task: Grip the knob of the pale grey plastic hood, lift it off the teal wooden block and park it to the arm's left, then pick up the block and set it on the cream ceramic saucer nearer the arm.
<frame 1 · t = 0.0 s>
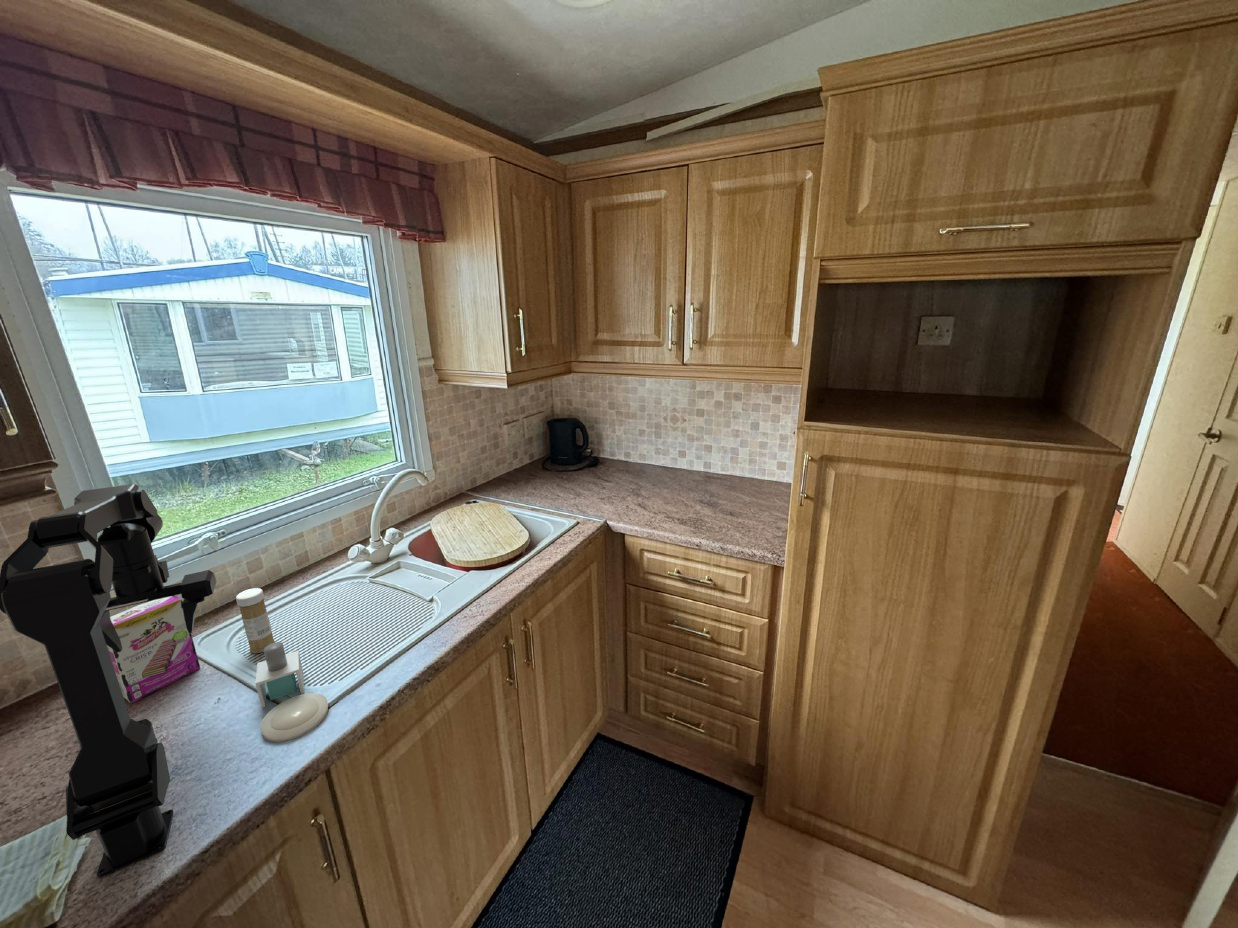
hand: (156, 641, 84), 15 cm above the countertop, fingers open, 9 cm apart
saucer: (296, 718, 86), on the countertop
block: (283, 689, 93), on the countertop
candy bar box: (163, 682, 95), on the countertop
sprinkles bottle: (262, 648, 105), on the countertop
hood: (283, 689, 93), on the countertop
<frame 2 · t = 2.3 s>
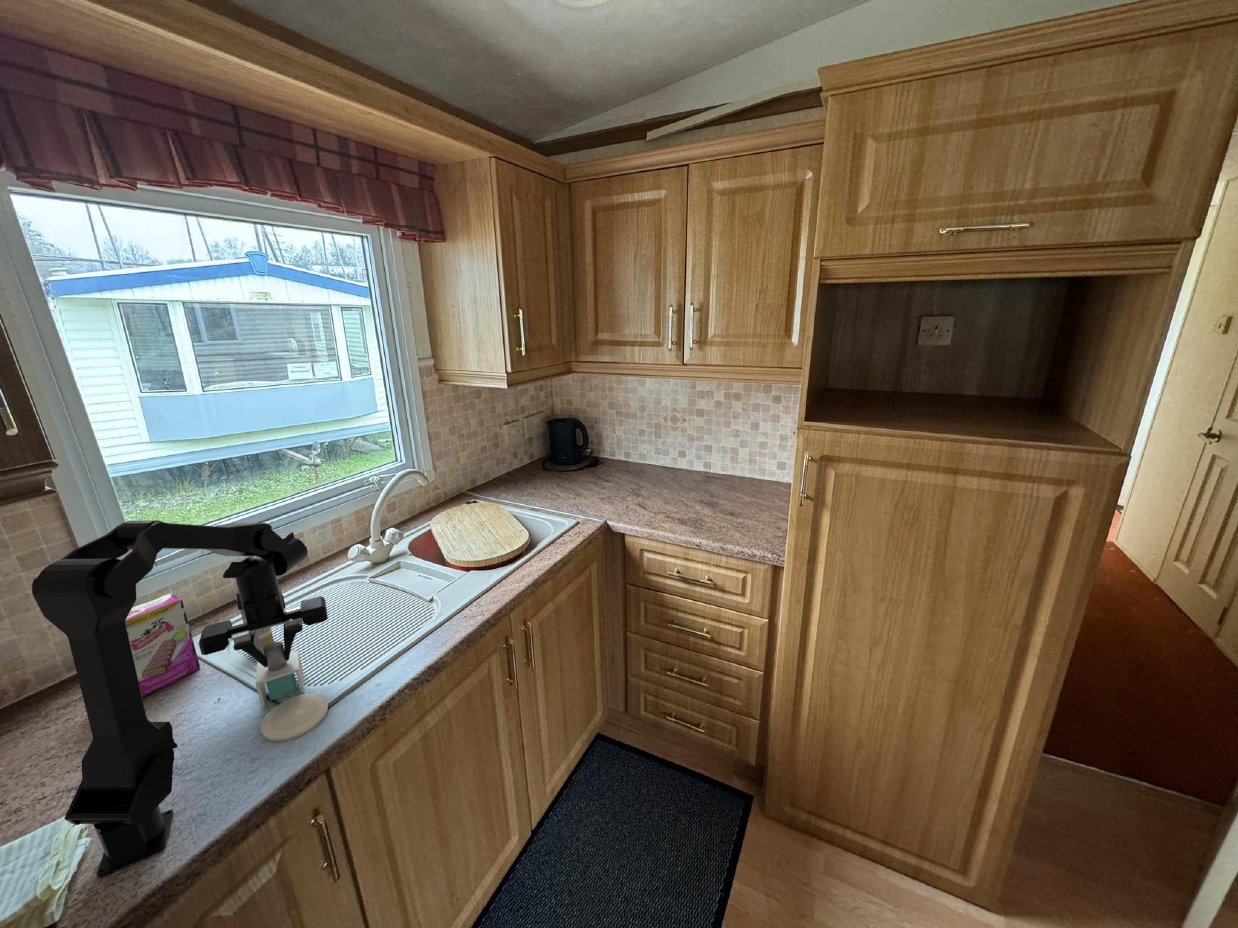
hand: (277, 662, 91), 6 cm above the countertop, fingers closed on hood, 3 cm apart
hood: (283, 689, 93), on the countertop, touching gripper
everything else where it was.
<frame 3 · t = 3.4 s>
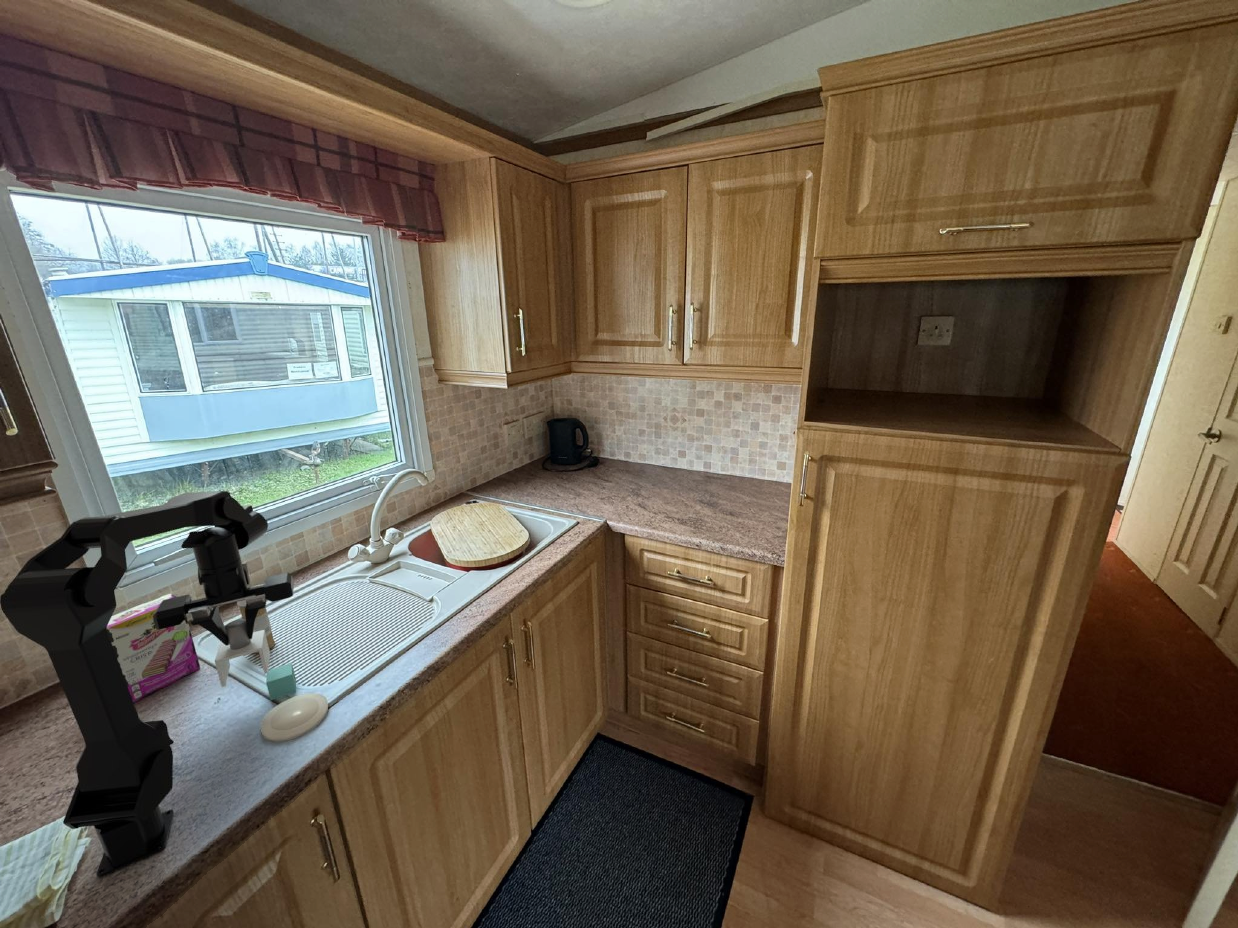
hand: (239, 640, 87), 13 cm above the countertop, fingers closed on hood, 3 cm apart
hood: (247, 669, 89), point 7 cm above the countertop, touching gripper
everything else where it was.
when the fingers open (7 cm above the countertop, at t = 4.8 s): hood drops 1 cm, on the countertop.
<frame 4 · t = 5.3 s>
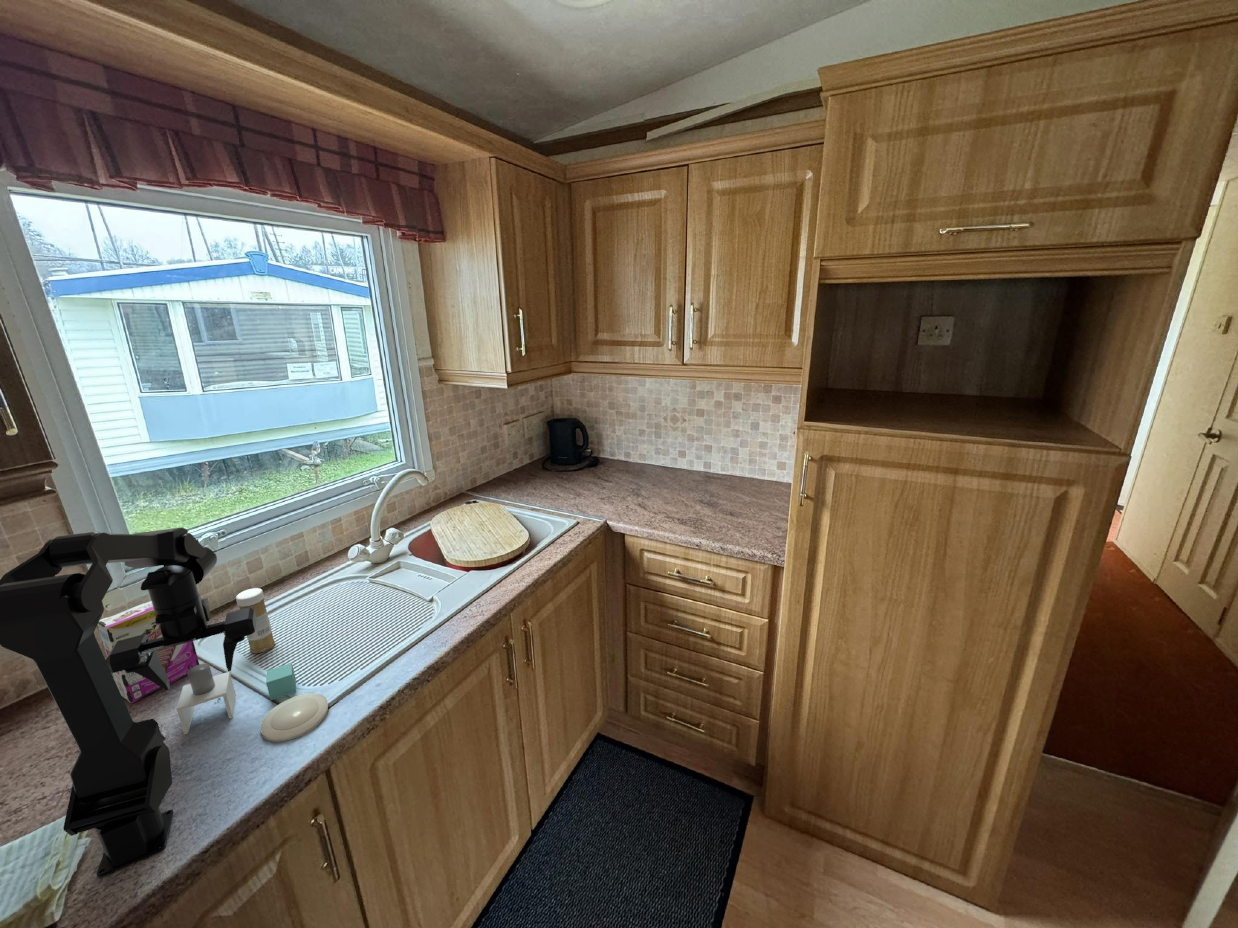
hand: (199, 679, 85), 7 cm above the countertop, fingers open, 8 cm apart
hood: (211, 713, 87), on the countertop
everything else where it was.
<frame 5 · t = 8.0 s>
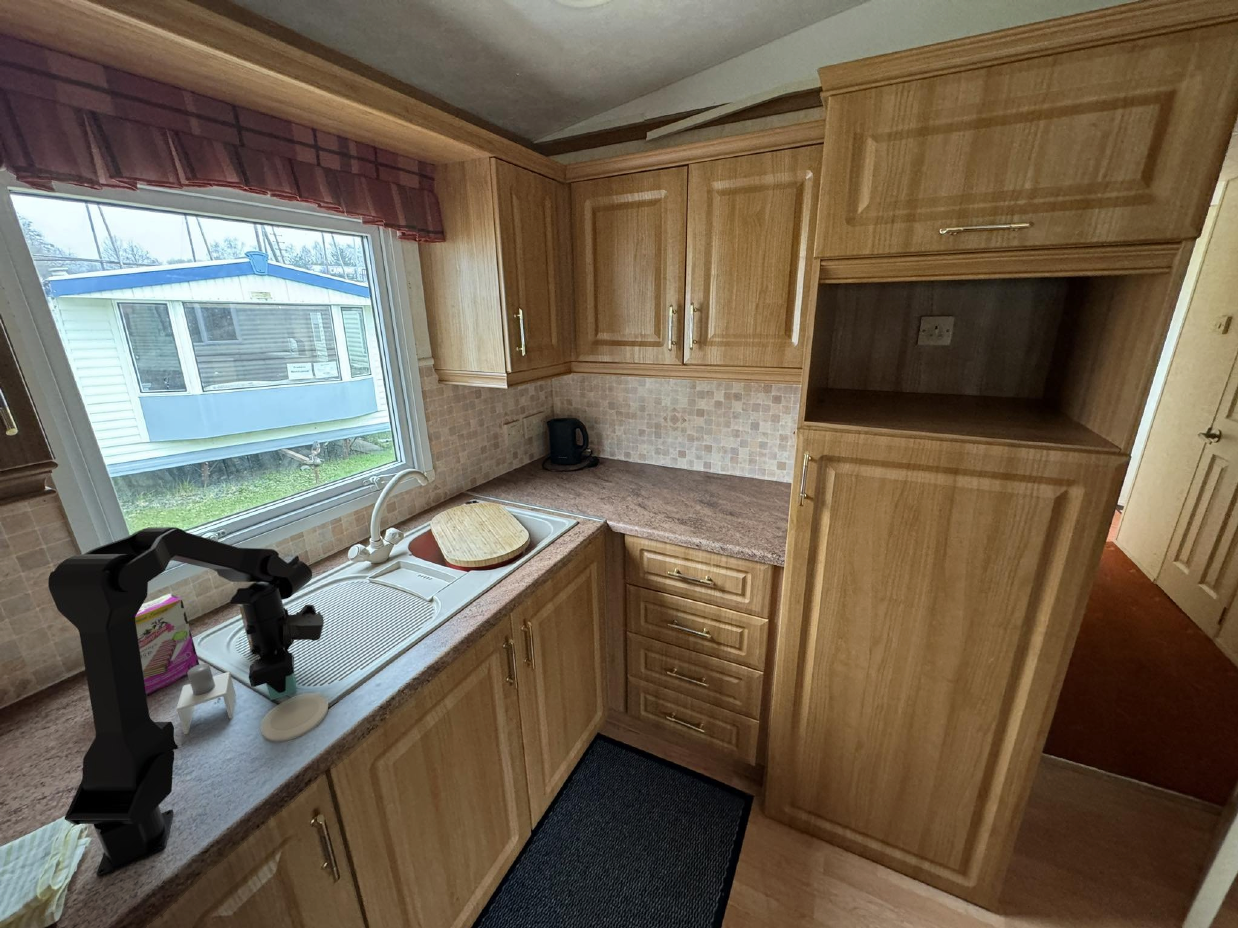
hand: (282, 684, 93), 1 cm above the countertop, fingers closed on block, 4 cm apart
block: (283, 689, 93), on the countertop, touching gripper
everything else where it was.
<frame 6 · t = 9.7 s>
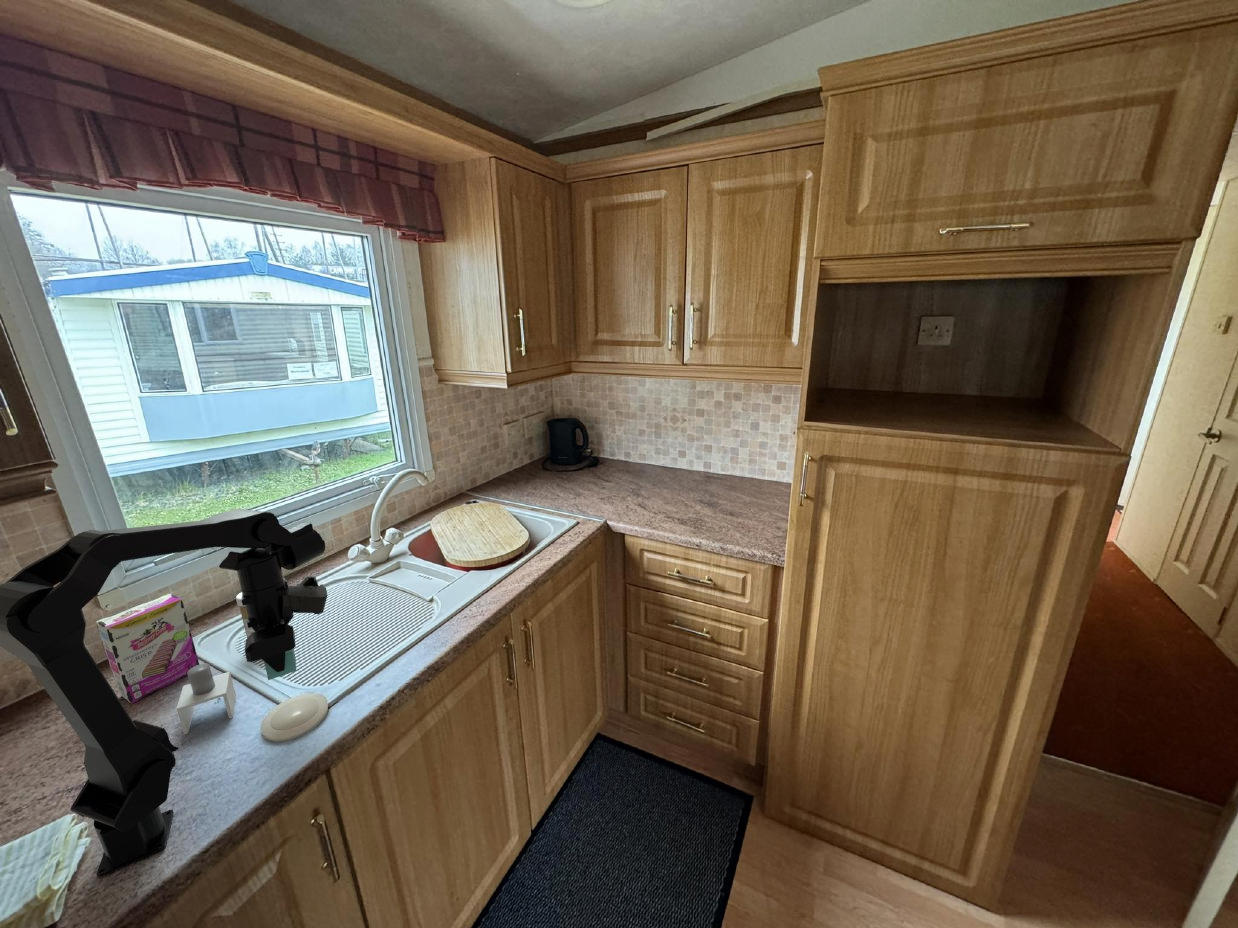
hand: (280, 664, 84), 11 cm above the countertop, fingers closed on block, 4 cm apart
block: (282, 668, 84), point 10 cm above the countertop, touching gripper
everything else where it was.
when the fingers open (4 cm above the countertop, at t = 11.3 s): block drops 1 cm, resting on saucer.
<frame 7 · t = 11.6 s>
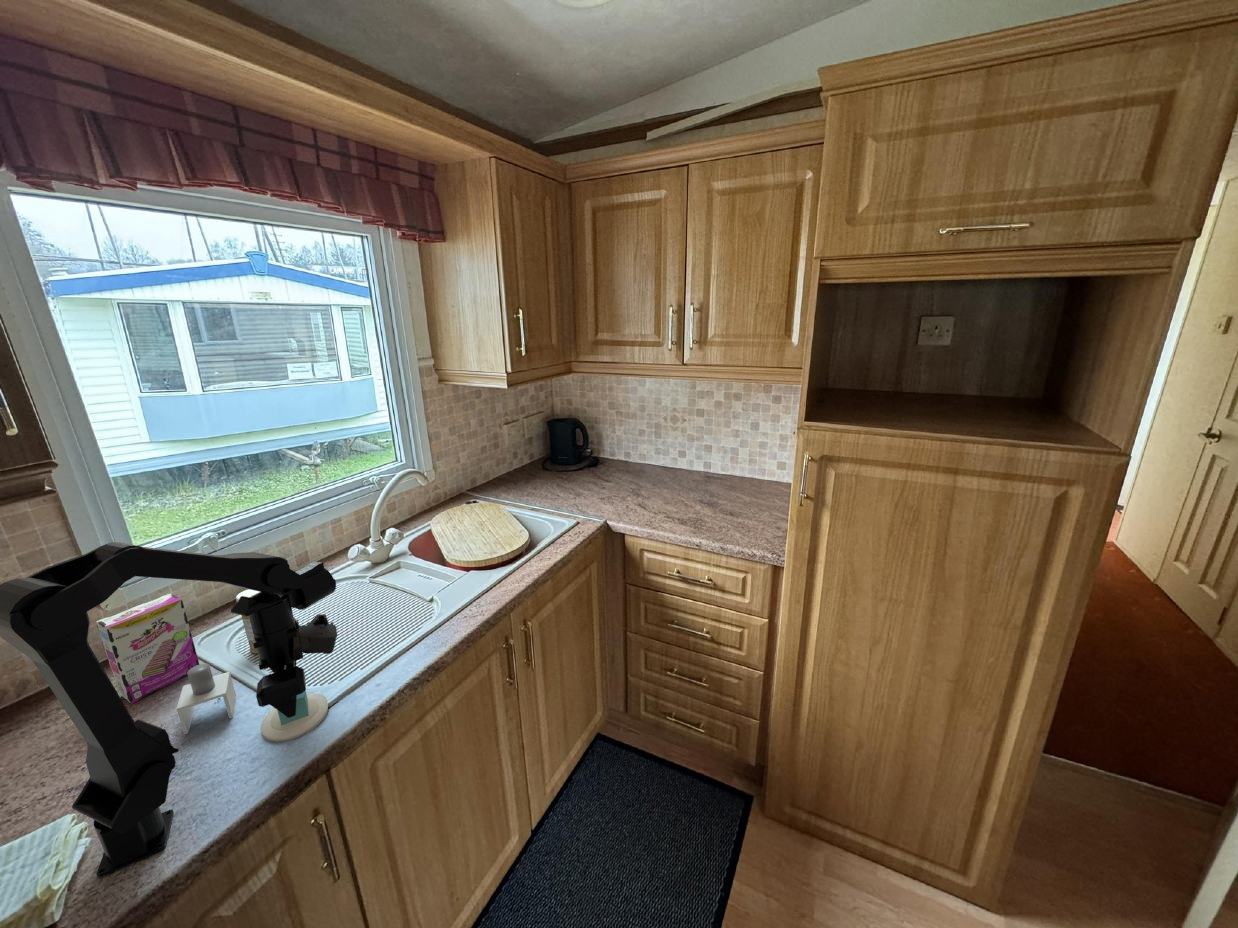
hand: (292, 702, 85), 4 cm above the countertop, fingers open, 7 cm apart
block: (295, 713, 85), point 1 cm above the countertop, touching saucer
everything else where it was.
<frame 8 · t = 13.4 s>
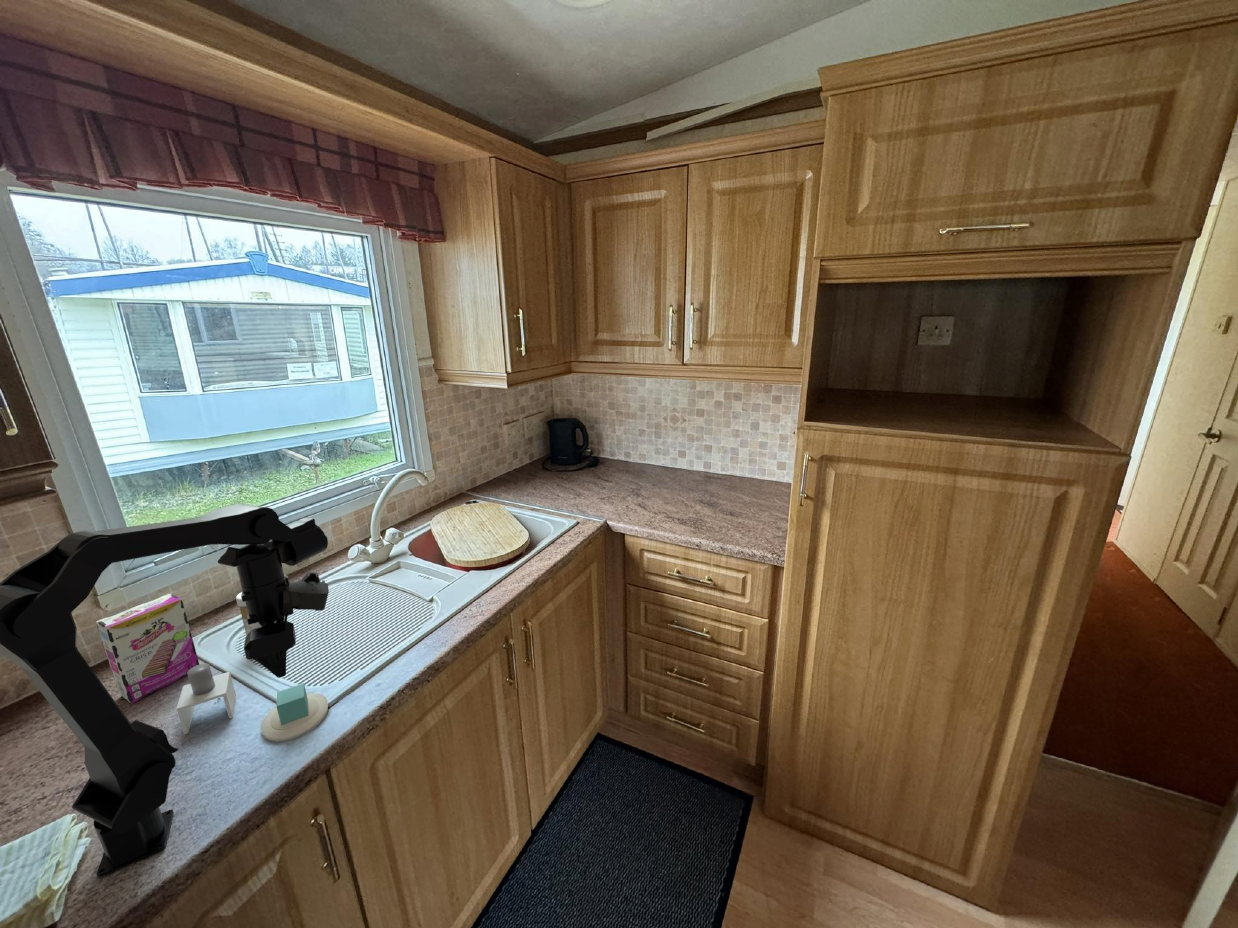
hand: (282, 660, 83), 12 cm above the countertop, fingers open, 9 cm apart
nothing on the countertop moved.
at the end: block inside the target area on the saucer (0.0 cm from its centre), point 1.1 cm above the saucer's base; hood moved 10.8 cm from its start; the gripper is holding nothing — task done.
